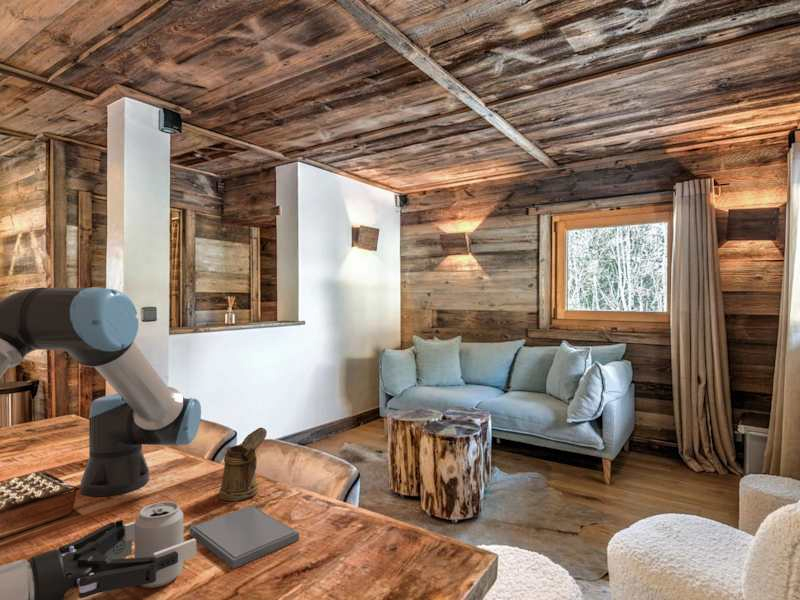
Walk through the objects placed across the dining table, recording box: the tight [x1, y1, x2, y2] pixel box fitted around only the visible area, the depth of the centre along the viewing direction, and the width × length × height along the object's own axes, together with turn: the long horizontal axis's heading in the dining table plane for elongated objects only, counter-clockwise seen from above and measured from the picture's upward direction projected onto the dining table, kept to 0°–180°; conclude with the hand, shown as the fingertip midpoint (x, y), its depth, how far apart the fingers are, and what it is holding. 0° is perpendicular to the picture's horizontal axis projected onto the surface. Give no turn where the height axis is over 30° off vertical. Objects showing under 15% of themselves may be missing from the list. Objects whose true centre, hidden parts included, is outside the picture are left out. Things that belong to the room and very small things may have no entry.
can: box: [133, 501, 184, 589], centre depth 82 cm, size 8×8×12 cm
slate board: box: [189, 505, 300, 570], centre depth 95 cm, size 18×14×2 cm
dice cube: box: [88, 521, 133, 559], centre depth 88 cm, size 5×5×5 cm
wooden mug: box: [218, 427, 268, 502], centre depth 115 cm, size 9×14×18 cm, turn 50°
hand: (178, 533), depth 84 cm, fingers open, 13 cm apart
